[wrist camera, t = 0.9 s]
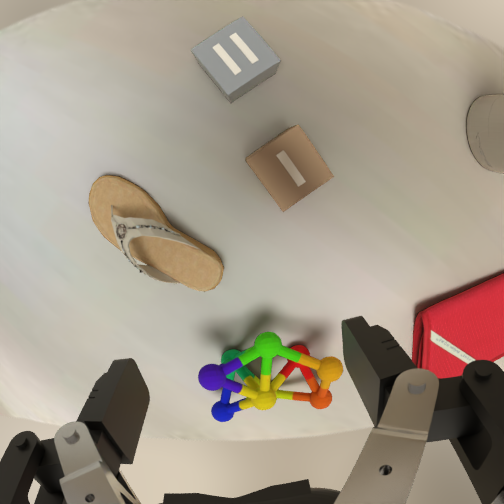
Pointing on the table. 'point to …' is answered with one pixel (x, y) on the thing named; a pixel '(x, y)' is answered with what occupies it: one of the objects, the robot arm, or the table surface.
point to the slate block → (236, 58)
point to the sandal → (151, 236)
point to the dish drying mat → (461, 330)
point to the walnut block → (289, 167)
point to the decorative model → (267, 377)
